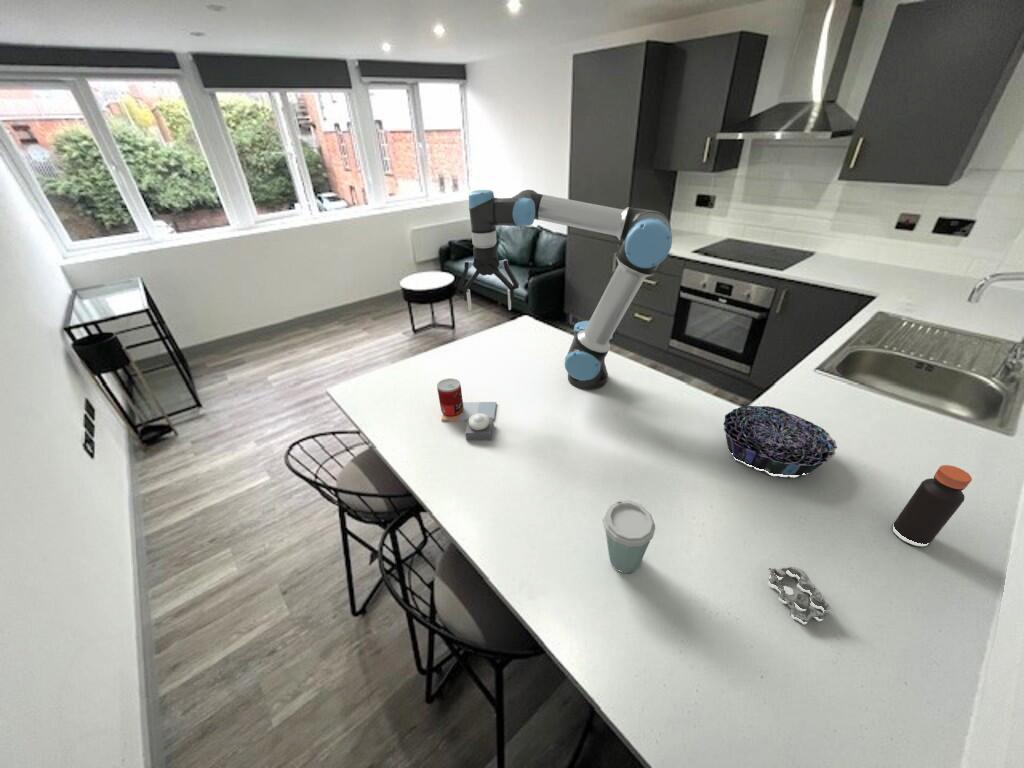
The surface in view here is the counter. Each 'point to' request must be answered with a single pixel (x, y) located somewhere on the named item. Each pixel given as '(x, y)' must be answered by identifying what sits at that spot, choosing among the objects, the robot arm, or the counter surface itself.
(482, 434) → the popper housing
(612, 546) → the disposable coffee cup
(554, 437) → the counter surface
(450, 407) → the canned food
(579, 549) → the counter surface
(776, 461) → the decorative bowl
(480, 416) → the dome button
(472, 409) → the flat rectangular panel
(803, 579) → the grey lumpy piece
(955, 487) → the bottle
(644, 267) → the robot arm
